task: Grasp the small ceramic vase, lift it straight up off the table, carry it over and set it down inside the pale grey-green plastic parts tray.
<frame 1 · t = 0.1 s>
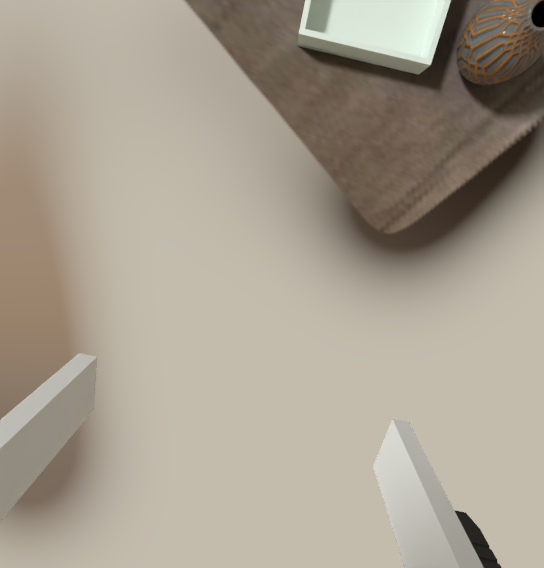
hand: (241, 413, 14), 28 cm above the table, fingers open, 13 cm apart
vase: (478, 54, 34), on the table
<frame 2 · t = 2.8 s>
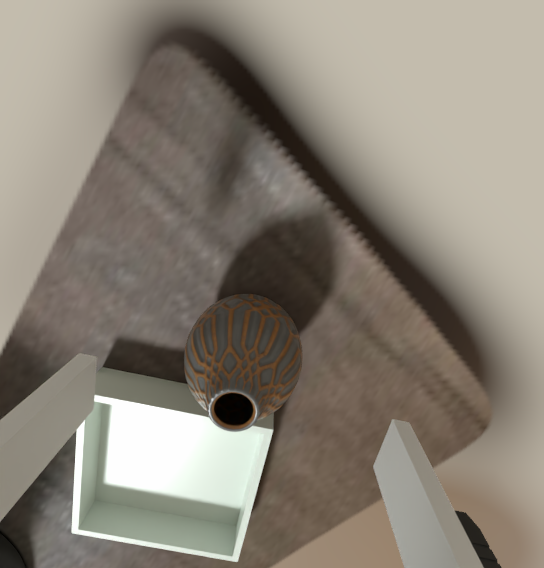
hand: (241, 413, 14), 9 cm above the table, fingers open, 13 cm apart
vase: (249, 327, 23), on the table
parts tray: (177, 452, 26), on the table
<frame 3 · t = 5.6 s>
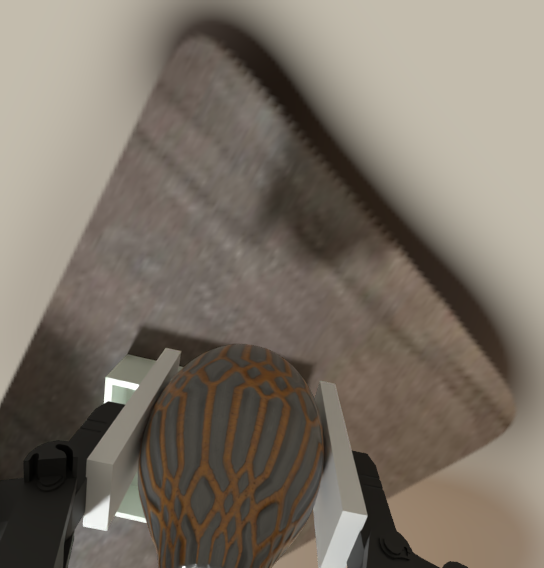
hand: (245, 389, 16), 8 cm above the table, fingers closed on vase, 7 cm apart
vase: (246, 382, 17), point 7 cm above the table, touching gripper
parts tray: (198, 438, 27), on the table
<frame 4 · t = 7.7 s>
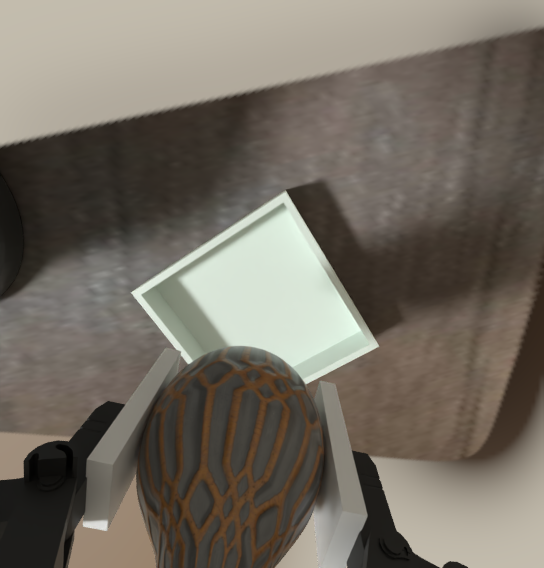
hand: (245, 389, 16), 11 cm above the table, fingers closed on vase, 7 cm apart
vase: (246, 384, 17), point 11 cm above the table, touching gripper
parts tray: (259, 304, 27), on the table
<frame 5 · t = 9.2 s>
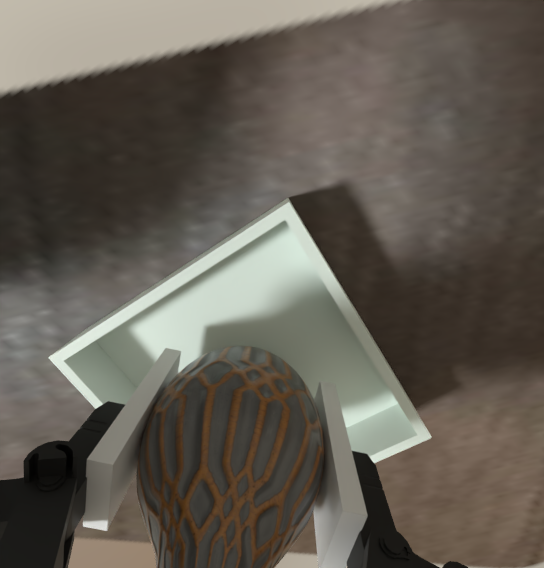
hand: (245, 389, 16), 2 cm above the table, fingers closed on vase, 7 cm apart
vase: (246, 384, 17), point 2 cm above the table, touching gripper
parts tray: (250, 364, 18), on the table
when the fingers open (2 cm above the table, at t = 10.0 s): vase drops 1 cm, resting on parts tray.
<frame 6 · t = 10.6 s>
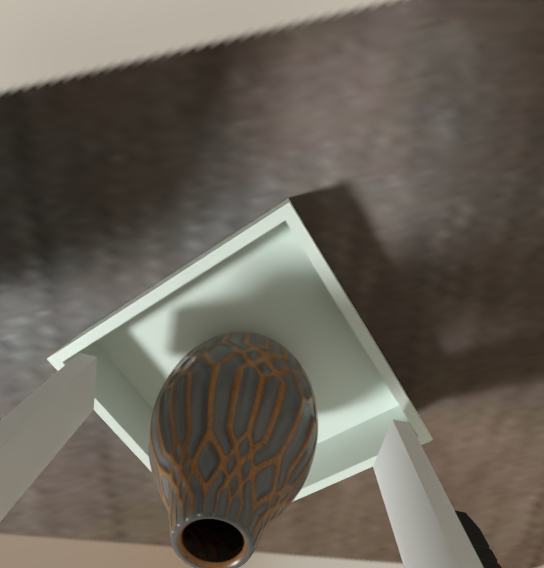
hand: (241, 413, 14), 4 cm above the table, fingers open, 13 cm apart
vase: (246, 369, 18), resting on parts tray
parts tray: (250, 365, 18), on the table
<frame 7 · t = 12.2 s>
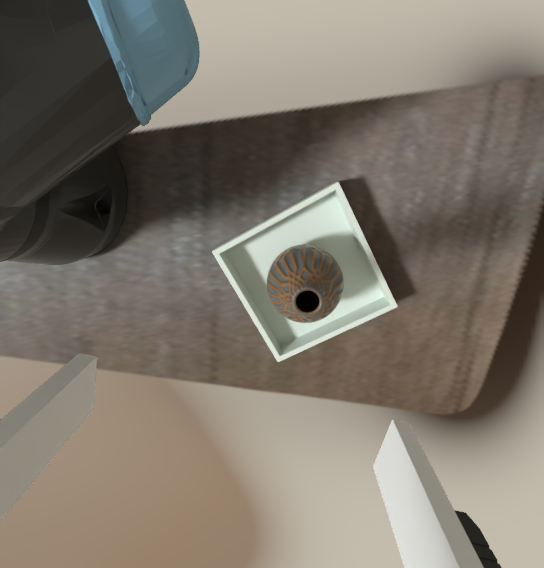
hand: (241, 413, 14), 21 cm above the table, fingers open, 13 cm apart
vase: (303, 272, 33), resting on parts tray
parts tray: (304, 271, 34), on the table
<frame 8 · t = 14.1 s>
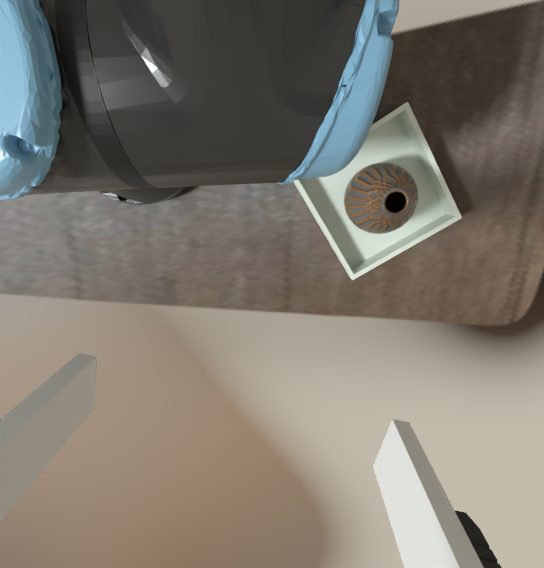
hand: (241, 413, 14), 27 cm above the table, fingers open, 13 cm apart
vase: (370, 197, 37), resting on parts tray
parts tray: (370, 196, 37), on the table
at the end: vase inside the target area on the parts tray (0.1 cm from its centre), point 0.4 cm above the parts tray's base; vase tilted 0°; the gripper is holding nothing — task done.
